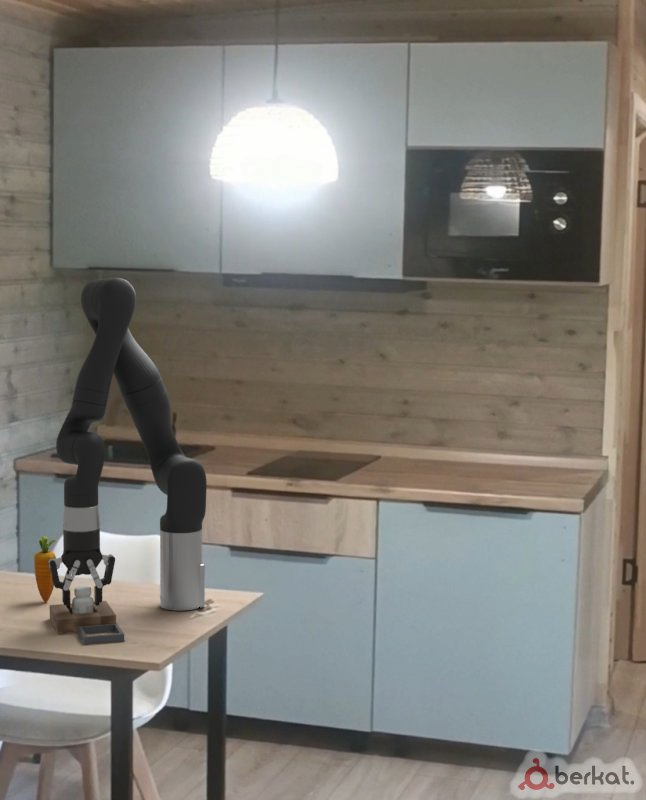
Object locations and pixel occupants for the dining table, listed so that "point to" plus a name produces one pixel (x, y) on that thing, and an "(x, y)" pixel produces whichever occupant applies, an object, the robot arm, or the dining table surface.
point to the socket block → (80, 617)
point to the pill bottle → (82, 600)
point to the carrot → (44, 569)
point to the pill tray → (101, 638)
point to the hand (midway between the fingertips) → (82, 605)
